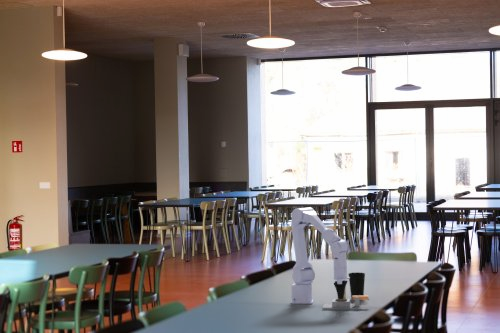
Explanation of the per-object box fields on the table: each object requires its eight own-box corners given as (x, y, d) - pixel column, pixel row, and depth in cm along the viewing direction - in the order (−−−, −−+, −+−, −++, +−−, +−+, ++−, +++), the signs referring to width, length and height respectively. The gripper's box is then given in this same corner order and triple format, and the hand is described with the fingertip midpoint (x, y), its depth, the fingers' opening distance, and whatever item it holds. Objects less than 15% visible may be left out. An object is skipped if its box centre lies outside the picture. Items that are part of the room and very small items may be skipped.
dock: (322, 309, 348) (322, 298, 348) (324, 305, 358) (324, 294, 358) (359, 310, 346) (358, 298, 346) (360, 305, 355) (359, 294, 355)
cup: (353, 301, 368) (352, 275, 368) (346, 298, 375) (345, 273, 375) (368, 299, 370) (367, 274, 370) (361, 297, 377) (360, 272, 377)
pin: (352, 299, 350) (352, 296, 350) (352, 299, 352) (352, 295, 352) (368, 299, 349) (368, 296, 349) (368, 299, 351) (368, 295, 351)
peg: (337, 303, 350) (337, 287, 350) (337, 301, 354) (337, 286, 354) (345, 303, 350) (345, 287, 350) (345, 301, 353) (345, 286, 353)
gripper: (348, 269, 344) (349, 300, 344) (350, 265, 358) (351, 295, 358) (332, 269, 345) (333, 300, 345) (334, 265, 360) (335, 295, 360)
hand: (341, 297), depth 352 cm, fingers open, 4 cm apart
